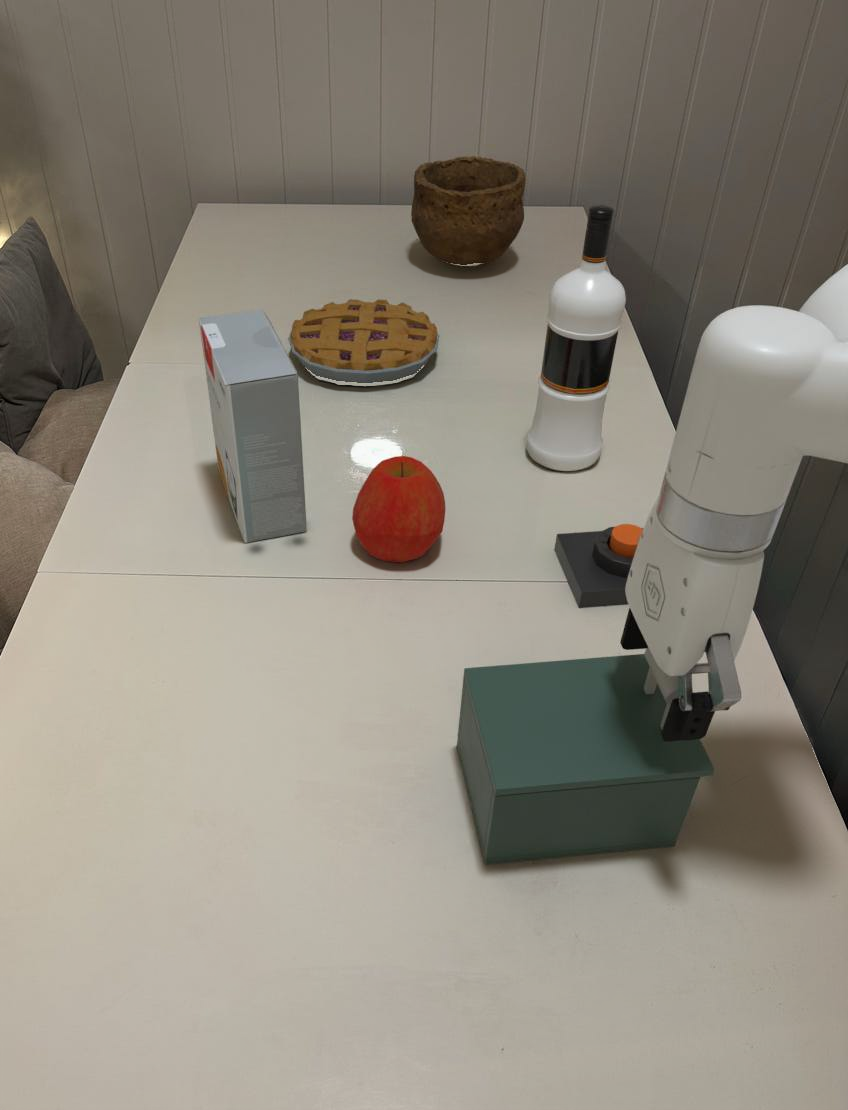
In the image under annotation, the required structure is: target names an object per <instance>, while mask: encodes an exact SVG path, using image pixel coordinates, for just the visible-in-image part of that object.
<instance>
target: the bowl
mask: <svg viewBox="0 0 848 1110" xmlns="http://www.w3.org/2000/svg"><path fill="white" fill-rule="evenodd" d="M413 176H414V177H413V199H412V203H411V210H410V211H411V215H410V217H411V223H412V226H413V228H414V230H415V233H416V235H417V237H418V239H419V241H420V244H421V246H422V247H423V248H424V250H425V251H426V252H427V253H428V254H429V255H431V256H432V257H434V258H435V259H437V260H439V261H441V262H443V261H444V262H443V263H446V262H448V263H447V264H449V263H453V264H460V265H467V264H473V263H485V264H488V263H490V261H491V262H494V261H495V260H497V259H499V258H500V257H502V256H503V255H504V254H505V253H506V251H507V250H508V249H509V248H510V246H511V245H512V244H513V242H514V241H515V239H516V238H517V236H518V235H519V233H520V230H521V229H522V227H523V224H524V221H525V209H524V203H523V195H524V193H525V188H526V173H525V169H523V168H522V167H521V166H519V165H516V164H514V163H511V162H509V161H499V160H495V159H493V158H487V157H482V156H475V155H472V156H457V157H455V158H452V159H447V160H444V161H443V160H435V161H433V162H431V161H429V162H424V163H422V164H420V165H419V166H418V167H417V168H416V169H415V171H414V175H413ZM487 262H488V263H487Z"/></svg>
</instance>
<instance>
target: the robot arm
mask: <svg viewBox="0 0 848 1110" xmlns="http://www.w3.org/2000/svg"><path fill="white" fill-rule="evenodd" d="M805 456H806V457H807V456H808V457H809V456H810V457H815V458H819V459H825V460H829V461H834V462H838V463H839V462H840V463H843V464H848V263H847V264H846V265H844V266H843V267H841V269H839V270H838V271H836V272H835V273H834V274H833V275H831V276H830V277H829V278H828V279H827V280H826V281H825V282H823V283H822V284H821V285H820V286H819V287H818V288H817V289H816V290H815V291H814V292H813V293H812V294H811V295H810V296H809V297H808V299H807V300H806V301H805V302H804V304H803V305H802V306H801V307H800V308H799V310H794V309H791V308H785V307H781V306H775V305H763V304H762V305H758V304H757V305H755V304H753V305H742V306H738V307H734V308H731V309H728V310H726V311H724V312H722V313H720V314H718V315H717V316H716V317H715V318H714V319H712V320H711V321H710V323H709V324H708V326H706V328H705V329H704V331H703V333H702V335H701V338H700V341H699V344H698V347H697V350H696V353H695V358H694V362H693V366H692V369H691V373H690V377H689V381H688V384H687V388H686V393H685V396H684V400H683V403H682V407H681V411H680V415H679V419H678V422H677V426H676V430H675V434H674V437H673V441H672V445H671V449H670V452H669V457H668V460H667V465H666V469H665V472H664V476H663V480H662V484H661V488H660V491H659V495H658V497H657V498H656V500H655V501H654V503H653V505H652V508H651V510H650V512H649V514H648V516H647V519H646V521H645V524H644V527H643V528H644V529H643V531H642V534H641V536H639V538H638V546H637V549H636V552H635V555H634V558H633V561H632V565H631V568H630V571H629V575H628V579H627V583H626V587H625V593H626V598H627V602H628V607H629V608H628V612H627V616H626V619H625V623H624V625H623V626H624V627H623V631H622V634H621V638H620V643H619V644H620V646H621V648H622V649H623V650H626V651H631V650H633V651H634V650H646V649H647V648H648V647H649V649H650V651H651V653H652V655H653V657H654V659H655V661H656V663H657V665H658V666H659V667H660V669H661V670H662V671H663V672H664V673H666V674H667V675H669V676H678V694H679V698H675V699H672V702H671V705H670V708H669V711H668V714H667V717H666V720H665V723H664V726H663V729H662V732H661V735H662V738H663V740H664V741H666V742H669V741H681V740H684V741H688V740H695V739H700V740H702V739H704V738H705V737H706V735H707V733H708V731H709V728H710V726H711V723H712V721H713V718H714V715H715V713H716V712H718V711H721V712H722V711H729V710H730V708H731V707H732V706H734V705H736V704H737V703H739V702H740V701H741V699H742V688H741V685H740V681H739V677H738V672H737V668H736V664H735V663H736V662H735V660H736V658H737V656H738V654H739V652H740V649H741V647H742V644H743V641H744V639H745V636H746V634H747V630H748V626H749V624H750V619H751V616H752V613H753V610H754V607H755V602H756V598H757V594H758V590H759V587H760V582H761V577H762V572H763V566H764V561H765V552H764V550H766V549H767V548H768V547H769V545H770V544H771V542H772V540H773V537H774V534H775V532H776V530H777V526H778V523H779V521H780V518H781V516H782V513H783V510H784V507H785V505H786V502H787V499H788V496H789V494H790V492H791V489H792V487H793V483H794V481H795V478H796V475H797V473H798V470H799V469H800V465H801V462H802V460H803V457H805ZM704 653H705V655H706V660H707V662H699V661H700V660H701V659H702V658H703V657H704ZM696 674H707V682H708V684H707V685H708V691H697V692H696V691H695V692H694V690H693V675H696Z"/></svg>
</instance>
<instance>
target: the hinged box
mask: <svg viewBox="0 0 848 1110" xmlns="http://www.w3.org/2000/svg"><path fill="white" fill-rule="evenodd" d="M457 729H458V730H457V740H456V747H457V752H458V756H459V760H460V765H461V769H462V772H463V776H464V781H465V783H466V784H465V785H466V788H467V793H468V798H469V803H470V806H471V810H472V814H473V818H474V824H475V827H476V831H477V835H478V841H479V845H480V849H481V853H482V857H483V862H484V865H493V864H506V863H515V862H526V861H537V860H547V859H555V858H556V859H557V858H567V857H576V856H586V855H587V856H588V855H596V854H607V853H617V852H618V853H619V852H628V851H629V852H630V851H638V850H639V851H640V850H649V849H659V848H668V847H669V848H670V847H675V846H676V843H677V840H678V838H679V836H680V833H681V830H682V827H683V825H684V821H685V820H686V817H687V815H688V811H689V809H690V806H691V804H692V801H693V799H694V795H695V793H696V791H697V788H698V785H699V783H700V779H701V777H695V778H684V779H673V780H662V781H651V782H640V783H630V784H619V785H608V786H597V787H586V788H575V789H564V790H553V791H542V792H531V793H520V794H509V795H499V796H496V795H495V793H494V789H493V785H492V781H491V777H490V773H489V770H488V766H487V762H486V758H485V754H484V750H483V747H482V743H481V739H480V735H479V731H478V727H477V724H476V720H475V716H474V712H473V708H472V704H471V701H470V697H469V693H468V689H467V685H466V682H465V678H464V675H463V678H462V688H461V698H460V709H459V718H458V728H457Z"/></svg>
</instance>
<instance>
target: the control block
mask: <svg viewBox="0 0 848 1110" xmlns="http://www.w3.org/2000/svg"><path fill="white" fill-rule="evenodd" d="M615 527H616V526H609V527H607V528H605V529H604V530H603V529H602V530H596V531H595V530H594V531H581V532H580V531H579V532H566V533H556V538H555V544H554V548H553V549H554V552H555V554H556V558H557V559H558V562H559V564H560V567H561V569H562V571H563V572H562V573H563V574H564V576H565V579H566V581H567V583H568V586H569V588H570V591H571V593H572V596H573V598H574V600H575V603H576V605H577V608H578V609H587V608H588V609H589V608H601V607H611V606H612V607H613V606H627V605H628V606H629V604H628V602H627V598H626V593H625V587H626V583H627V579H628V575H629V571H630V568H631V565H632V561H633V558H634V557H625V556H621V555H617V554H616V553H614V552H613V551H611V549H610V547H609V543H610V539H611V534H612V530H613V529H614V528H615ZM641 528H642V529H644V527H641Z"/></svg>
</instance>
